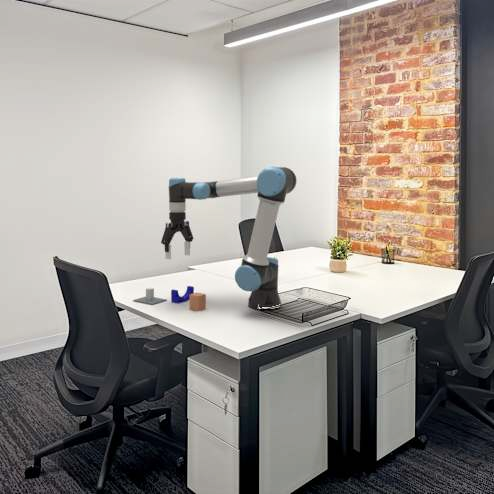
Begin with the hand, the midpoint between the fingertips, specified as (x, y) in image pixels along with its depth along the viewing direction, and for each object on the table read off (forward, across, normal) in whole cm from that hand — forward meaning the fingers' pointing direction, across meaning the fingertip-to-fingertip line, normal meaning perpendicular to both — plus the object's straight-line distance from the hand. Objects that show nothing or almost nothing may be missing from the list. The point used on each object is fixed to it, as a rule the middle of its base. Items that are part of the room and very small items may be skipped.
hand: (177, 257), depth 245 cm
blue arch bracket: (+22, -4, 0) cm, 22 cm away
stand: (+21, +7, -12) cm, 25 cm away
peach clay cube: (+22, +5, +15) cm, 27 cm away
